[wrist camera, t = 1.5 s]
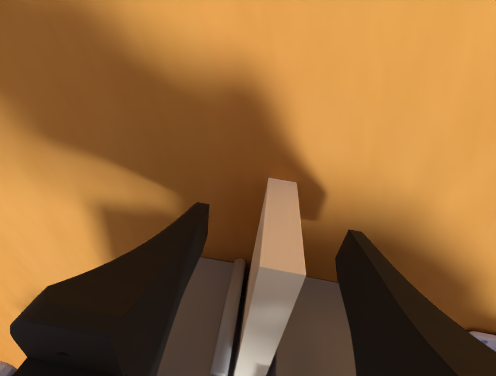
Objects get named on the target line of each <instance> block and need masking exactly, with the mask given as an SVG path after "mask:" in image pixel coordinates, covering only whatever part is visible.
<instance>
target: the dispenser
mask: <svg viewBox="0 0 496 376" xmlns="http://www.w3.org/2000/svg"><path fill="white" fill-rule="evenodd" d="M245 266H246V261H245V260H244V259H241V258H237V259H235V261H234V263H230V262H225V261H219V260H214V259H209V258H203V257H200V258H199V260H198V263H197V265H196V267H195V269H194V271H193V274H192V276H191V278H190V280H189V283H188V285H187V287H186V289H185V291H184V294H183V296H182V299H181V302H180V305H179V307H178V310H177V313H176V316H175V319H174V322H173V325H172V328H171V331H170V334H169V337H168V341H167V344H166V347H165V350H164V353H163V356H162V360H161V363H160V366H159V369H158V373H157V376H233V372H234V365H235V358H236V351H237V345H238V338H239V331H240V325H241V318H242V311H243V304H244V298H245V297H242V296H241V290H242V284H243V278H244V272H245ZM266 376H356V368H355V360H354V352H353V346H352V339H351V332H350V328H349V323H348V319H347V315H346V311H345V307H344V303H343V299H342V295H341V291H340V287H339V283H336V282H331V281H325V280H320V279H315V278H310V277H305V279H304V282H303V284H302V287H301V289H300V292H299V294H298V297H297V299H296V302H295V304H294V307H293V309H292V312H291V314H290V317H289V319H288V322H287V324H286V327H285V329H284V332H283V334H282V337H281V339H280V342H279V344H278V347H277V349H276V352H275V354H274V357H273V359H272V362H271V364H270V367H269V369H268V372H267V374H266Z"/></svg>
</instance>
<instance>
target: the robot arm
mask: <svg viewBox="0 0 496 376" xmlns="http://www.w3.org/2000/svg"><path fill="white" fill-rule="evenodd" d="M208 218H209V204H204V203H199V202H197V203H196V204H194V205H193V206H192V207H191V208H190V209H189V210H188V211H186V212H185V213H184V214H183V215H182V216H181V217H179V218H178V219H177V220H176V221H175V222H173V223H172V224H171V225H170V226H168V227H167V228H166V229H164V230H163V231H161V232H160V233H159V234H157V235H156V236H154V237H153V238H152V239H150V240H148V241H147V242H145V243H144V244H142V245H141V246H139V247H137V248H136V249H134V250H132V251H130V252H128V253H126V254H124V255H122V256H121V257H119V258H117V259H115V260H113V261H111V262H109V263H106V264H104V265H102V266H100V267H97V268H95V269H93V270H90V271H88V272H85V273H83V274H80V275H78V276H75V277H72V278H70V279H67V280H64V281H61V282H59V283H56V284H53V285H50V286H48V287H47V288H45V289H44V290H43V291H42V292H41V293H40V294H39V295H38V296H37V297H36V298H35V299H34V300H33V301H32V302H31V304H30V305H29V306H28V307H27V308H26V309H25V310H24V311H23V312H22V313H21V314H20V315H19V316H18V317H17V318H16V319H15V320H14V321H13V323H12V324H11V325H10V334H11V336H12V338H13V339H14V341H15V342H16V343H17V344H18V346H19V347H20V348H21V350H22V351H23V352H24V353H25V355H26V356H27V358H26V360H25V361H24V362H23V363H22V365H21V366H20V367H19V368H18V370H17V369H16V368H15V367H14V366H12V365H10V364H8V363H5V362H2V361H0V376H157V373H158V369H159V366H160V363H161V360H162V356H163V353H164V350H165V347H166V344H167V341H168V337H169V334H170V331H171V328H172V325H173V322H174V319H175V316H176V313H177V310H178V307H179V305H180V302H181V299H182V296H183V294H184V291H185V289H186V287H187V285H188V283H189V280H190V278H191V276H192V274H193V271H194V269H195V267H196V265H197V263H198V260H199V258H200V256H201V254H202V251H203V248H204V245H205V241H206V238H207V235H208ZM335 260H336V271H337V278H338V282H339V287H340V291H341V295H342V299H343V303H344V307H345V311H346V315H347V319H348V323H349V328H350V332H351V339H352V346H353V352H354V360H355V368H356V376H496V335H491V334H486V333H481V332H475V331H472V332H467V331H466V330H465V329H463V328H462V327H461V326H460V325H458V324H457V323H456V322H454V321H453V320H452V319H451V318H449V317H448V316H447V315H445V314H444V313H443V312H442V311H441V310H439V309H438V308H437V307H436V306H435V305H433V304H432V303H431V302H430V301H429V300H428V299H427V298H425V297H424V296H423V295H422V294H421V293H420V292H419V291H418V290H417V289H415V288H414V287H413V286H412V285H411V284H410V283H409V282H408V281H407V280H406V279H405V278H404V277H403V276H402V275H401V274H400V273H399V272H398V271H397V270H396V269H395V268H394V267H393V266H392V265H391V263H390V262H389V261H388V260H387V259H386V258H385V257H384V256H383V255H382V254H381V253H380V251H379V250H378V249H377V248H376V247H375V246H374V245H373V244H372V243H371V241H370V240H369V239H368V238H367V237H366V236H365V235H364V234H363V233H362V232H360V231H354V230H348V232H347V234H346V237H345V239H344V241H343V243H342V245H341V247H340V249H339V251H338V253H337V256H336V258H335Z"/></svg>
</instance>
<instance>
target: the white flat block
mask: <svg viewBox="0 0 496 376" xmlns="http://www.w3.org/2000/svg"><path fill="white" fill-rule="evenodd" d="M305 277H306V269H305V259H304V249H303V239H302V229H301V219H300V209H299V200H298V190H297V182H291V181H285V180H280V179H274V178H268V183H267V188H266V193H265V198H264V203H263V208H262V213H261V218H260V222H259V227H258V232H257V237H256V242H255V247H254V252H253V257H252V262H251V267H250V272H249V277H248V282H247V286H246V291H245V298H244V304H243V311H242V318H241V325H240V331H239V338H238V345H237V351H236V358H235V365H234V372H233V376H266V374H267V372H268V369H269V367H270V364H271V362H272V359H273V357H274V354H275V352H276V349H277V347H278V344H279V342H280V339H281V337H282V334H283V332H284V329H285V327H286V324H287V322H288V319H289V317H290V314H291V312H292V309H293V307H294V304H295V302H296V299H297V297H298V294H299V292H300V289H301V287H302V284H303V282H304V279H305Z"/></svg>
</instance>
